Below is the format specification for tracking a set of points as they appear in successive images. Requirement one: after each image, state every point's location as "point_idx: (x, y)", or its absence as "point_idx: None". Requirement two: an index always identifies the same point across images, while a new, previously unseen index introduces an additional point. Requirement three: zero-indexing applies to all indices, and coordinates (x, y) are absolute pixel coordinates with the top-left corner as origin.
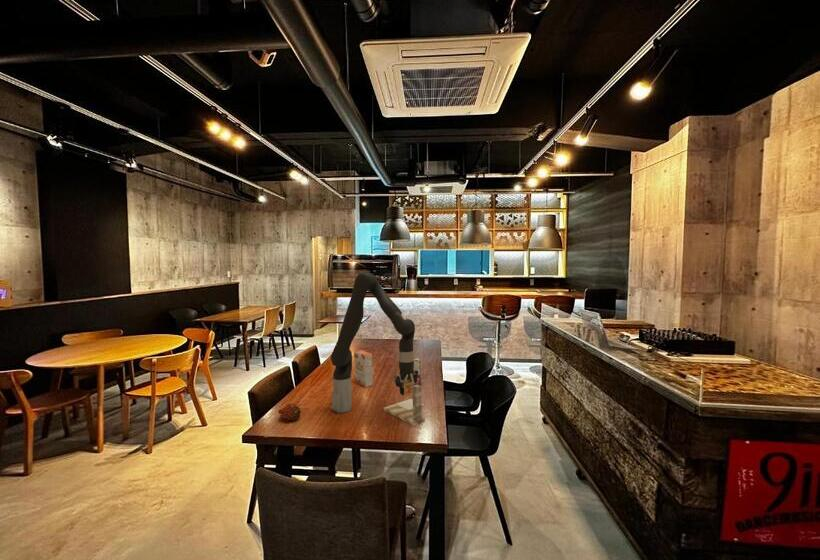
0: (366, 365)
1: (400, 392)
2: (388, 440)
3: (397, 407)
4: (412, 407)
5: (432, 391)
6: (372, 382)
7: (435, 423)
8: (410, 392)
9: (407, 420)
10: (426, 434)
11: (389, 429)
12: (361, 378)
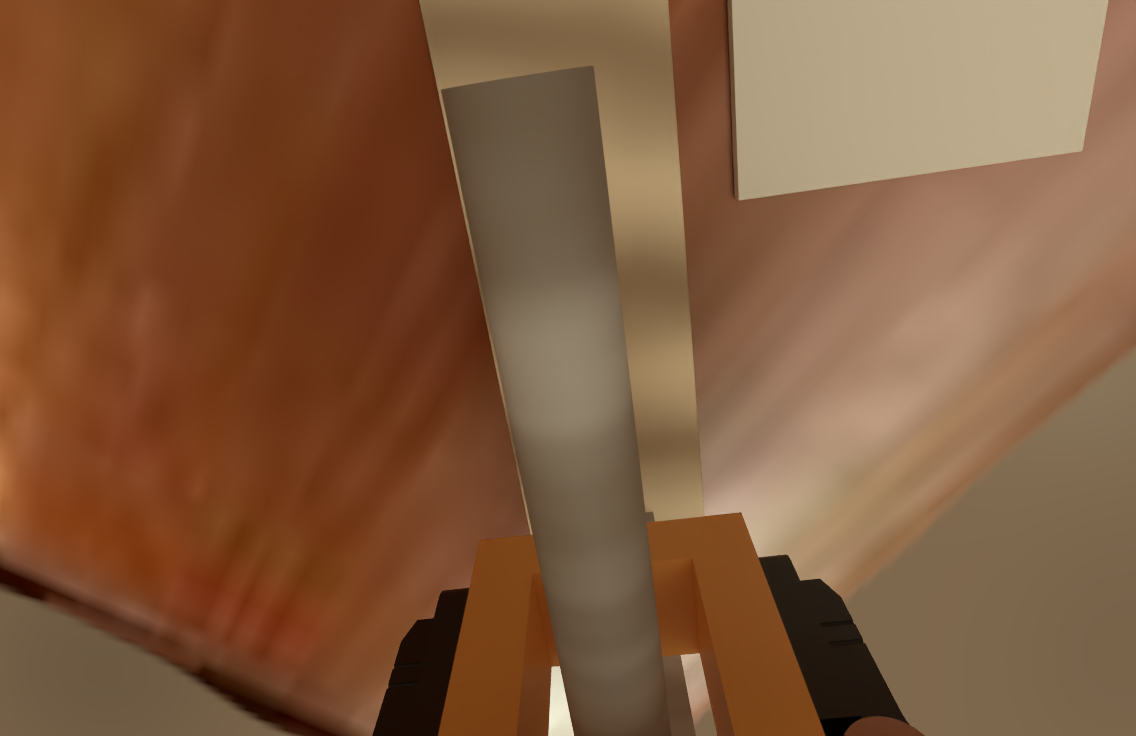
0: None
1: (411, 666)
2: (194, 642)
3: (617, 57)
4: (853, 147)
5: None
6: None
7: None
8: (691, 647)
9: (521, 484)
10: (550, 713)
11: (271, 490)
12: None
